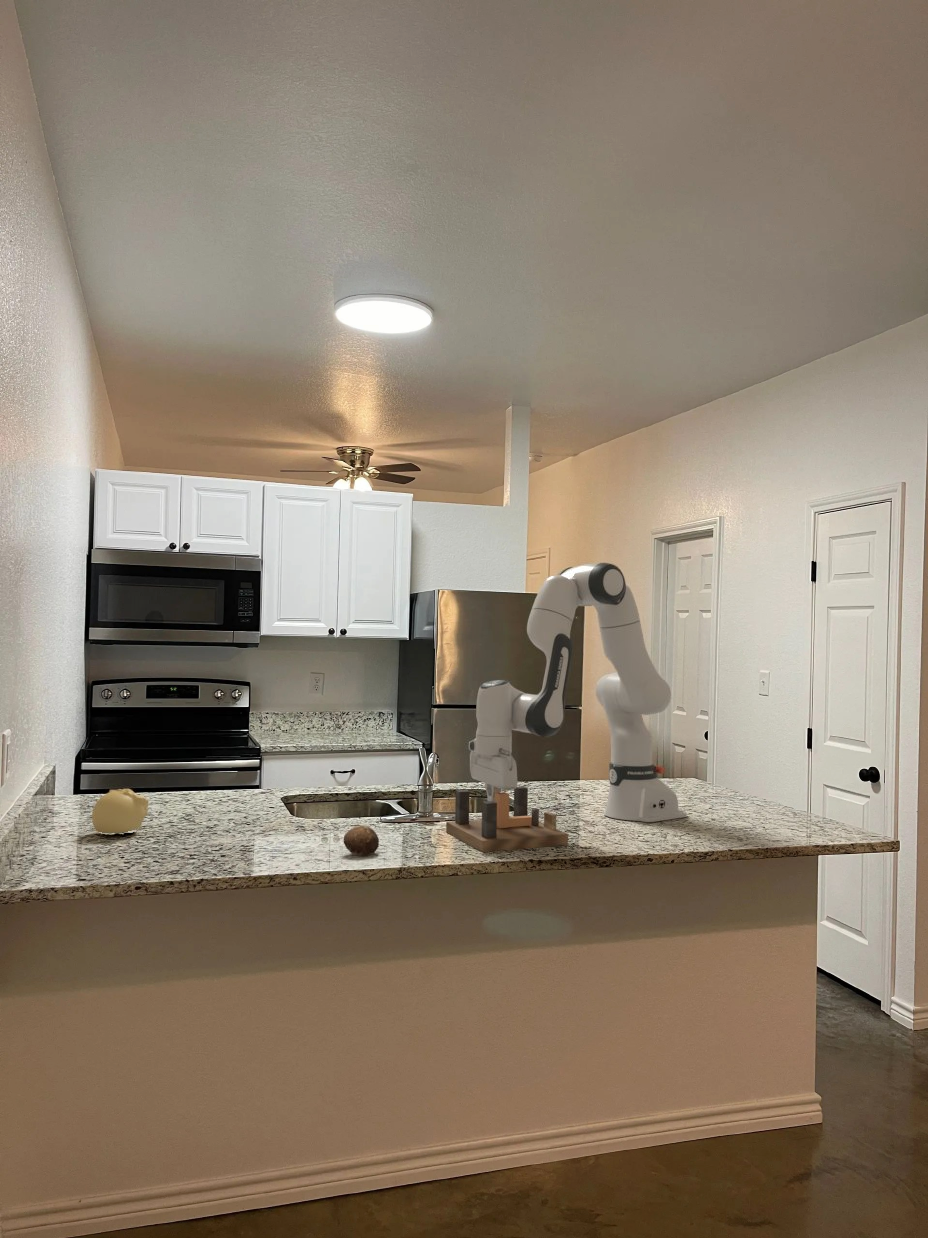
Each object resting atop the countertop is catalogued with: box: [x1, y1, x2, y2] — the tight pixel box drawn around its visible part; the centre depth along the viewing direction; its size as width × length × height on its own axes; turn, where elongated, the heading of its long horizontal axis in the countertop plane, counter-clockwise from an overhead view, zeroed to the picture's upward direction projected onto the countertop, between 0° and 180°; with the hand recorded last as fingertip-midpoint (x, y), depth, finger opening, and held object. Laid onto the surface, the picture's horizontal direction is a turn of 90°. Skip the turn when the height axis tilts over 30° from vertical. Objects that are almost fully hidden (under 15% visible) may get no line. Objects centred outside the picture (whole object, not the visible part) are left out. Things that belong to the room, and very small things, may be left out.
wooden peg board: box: [445, 785, 569, 853], centre depth 225 cm, size 22×22×10 cm
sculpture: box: [91, 788, 149, 833], centre depth 223 cm, size 12×12×11 cm
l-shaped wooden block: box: [495, 791, 532, 828], centre depth 225 cm, size 9×3×8 cm, turn 113°
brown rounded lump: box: [342, 825, 380, 857], centre depth 208 cm, size 8×8×6 cm
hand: (492, 802), depth 229 cm, fingers closed
